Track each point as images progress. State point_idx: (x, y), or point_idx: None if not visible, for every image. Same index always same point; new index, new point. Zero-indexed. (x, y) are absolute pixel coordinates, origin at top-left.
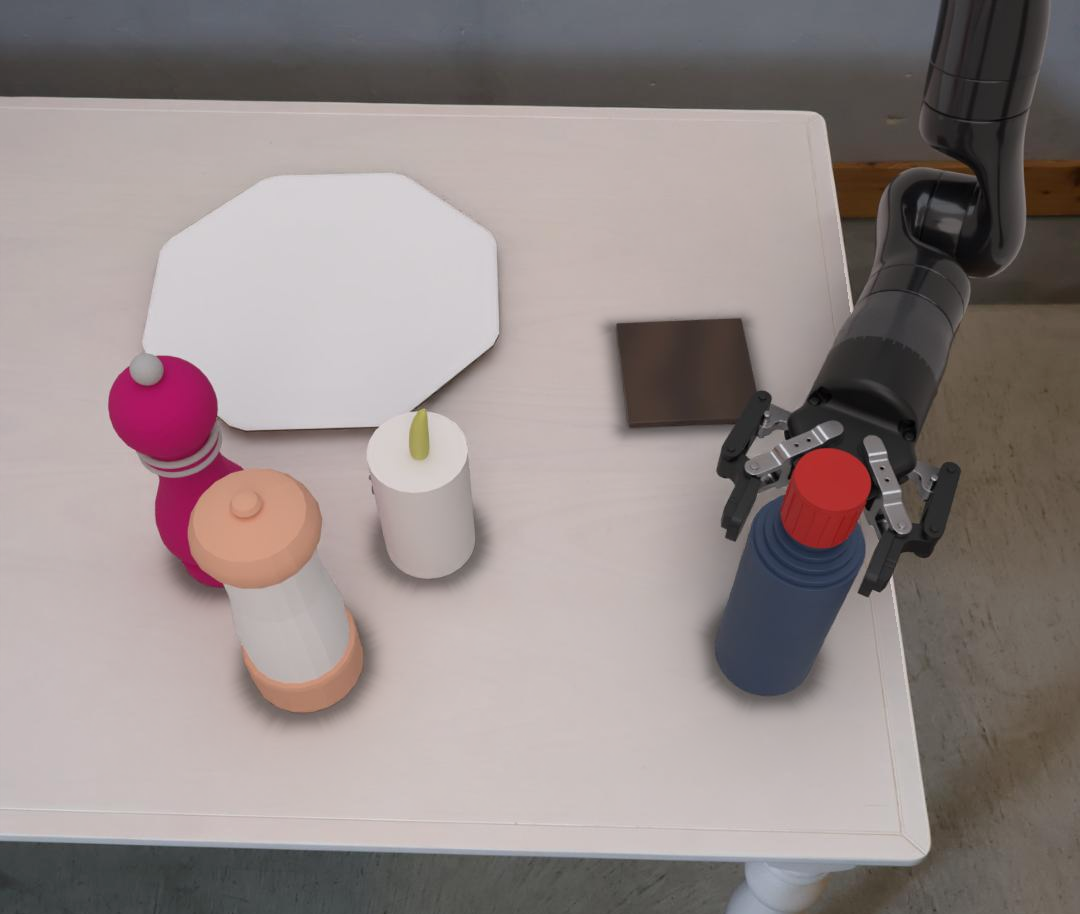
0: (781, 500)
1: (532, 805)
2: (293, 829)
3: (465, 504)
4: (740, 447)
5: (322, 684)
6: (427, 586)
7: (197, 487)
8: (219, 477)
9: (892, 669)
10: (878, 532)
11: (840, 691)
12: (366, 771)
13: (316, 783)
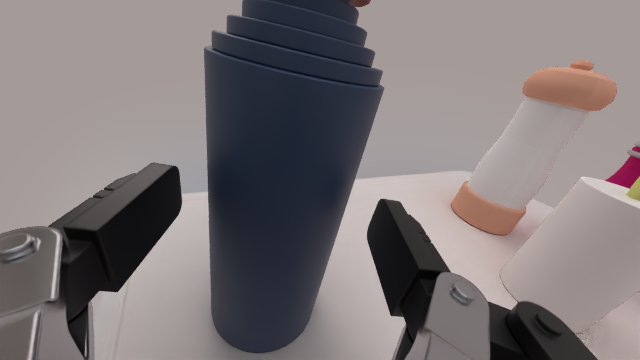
0: (371, 50)
1: (352, 189)
2: (414, 176)
3: (563, 238)
4: (543, 342)
5: (463, 184)
6: (496, 264)
7: (619, 172)
8: (628, 181)
9: (97, 332)
10: (89, 328)
11: (179, 284)
12: (415, 190)
13: (423, 185)
